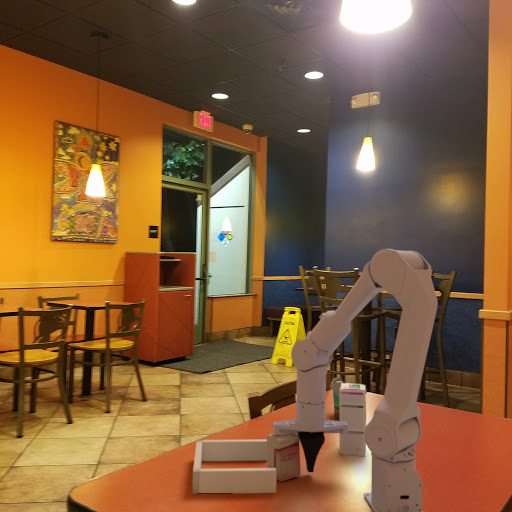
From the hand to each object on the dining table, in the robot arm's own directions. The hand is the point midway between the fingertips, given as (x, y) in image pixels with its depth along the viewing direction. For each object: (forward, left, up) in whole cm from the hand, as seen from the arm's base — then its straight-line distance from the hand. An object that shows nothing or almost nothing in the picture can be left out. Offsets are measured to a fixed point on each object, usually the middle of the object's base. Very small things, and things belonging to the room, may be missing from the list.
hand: (309, 470), depth 99 cm
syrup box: (+13, -12, -1) cm, 18 cm away
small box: (0, +5, -1) cm, 5 cm away
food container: (+37, -16, -1) cm, 40 cm away
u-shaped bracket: (+1, +15, -1) cm, 15 cm away
